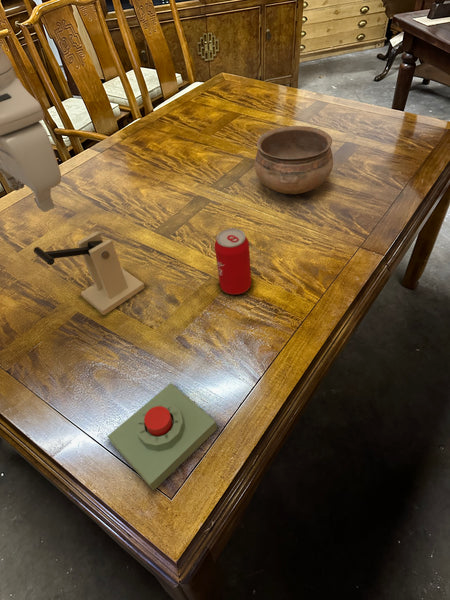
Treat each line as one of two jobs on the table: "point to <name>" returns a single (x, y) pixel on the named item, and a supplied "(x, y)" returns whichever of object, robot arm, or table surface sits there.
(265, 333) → the table surface
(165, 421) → the button
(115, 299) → the lever bracket
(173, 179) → the table surface
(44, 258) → the press lever
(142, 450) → the button housing
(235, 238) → the beverage can
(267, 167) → the cooking pot
